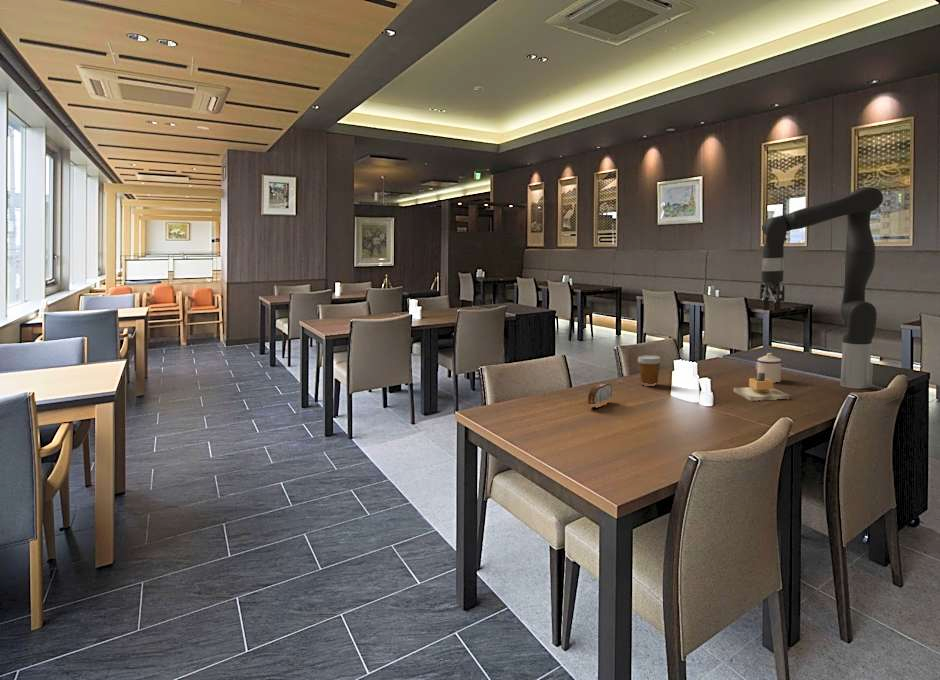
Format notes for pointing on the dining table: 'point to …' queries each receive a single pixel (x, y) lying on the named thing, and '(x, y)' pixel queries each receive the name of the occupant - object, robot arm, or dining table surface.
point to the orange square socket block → (760, 384)
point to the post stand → (761, 392)
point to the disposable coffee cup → (649, 368)
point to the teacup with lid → (769, 367)
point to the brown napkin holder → (599, 393)
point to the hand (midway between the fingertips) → (771, 311)
